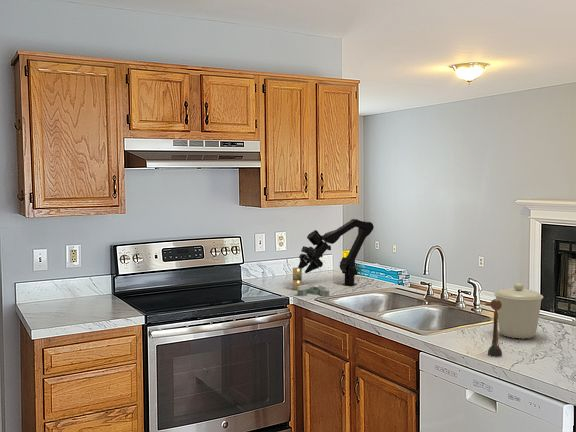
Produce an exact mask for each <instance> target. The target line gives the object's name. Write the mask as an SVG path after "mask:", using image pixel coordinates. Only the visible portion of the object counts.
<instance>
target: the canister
mask: <svg viewBox="0 0 576 432" xmlns="http://www.w3.org/2000/svg"><path fill="white" fill-rule="evenodd" d="M494 296H495V299H498V300H500V301H501V303H502V307H501V309H499V310H497V313H498V329H499V330H498V331H499V332H500V334H501V335H502V336H505V337H506V336H507V338H510V337H511V339H515V338H519V339H518V340H526V339H525V338H528V339H532V338H533V337H535V335H536V334H537V330H538V325H539V319H540V313H541V306H542V300H543V299H544V296H543V295H542V294H541V293H539V292H537V291H536V290H533V289H528V288H527V289H525V288H524V285H523V284H522V283H521V282H516V283H515V284H514V285H513V287H512V288H511V287H510V288H509V287H508V288H501V289H499V290H497V291H495V292H494ZM520 338H521V339H520Z"/></svg>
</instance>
